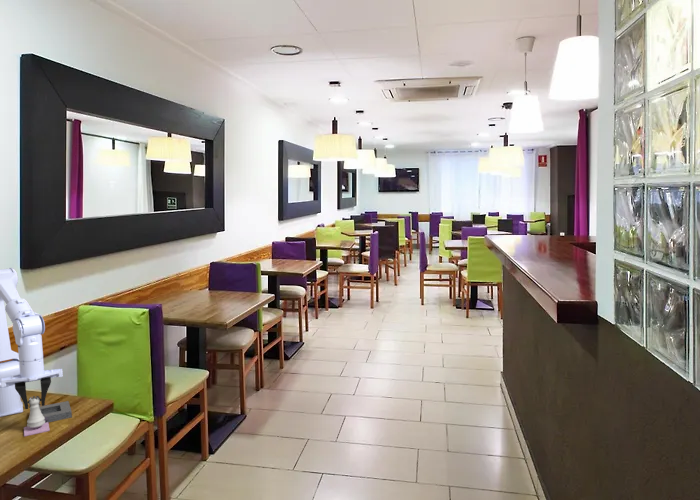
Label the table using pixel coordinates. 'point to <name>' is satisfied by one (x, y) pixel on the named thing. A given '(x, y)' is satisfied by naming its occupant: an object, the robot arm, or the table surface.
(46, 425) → the mat
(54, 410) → the socket block
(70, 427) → the table surface
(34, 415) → the rook chess piece
